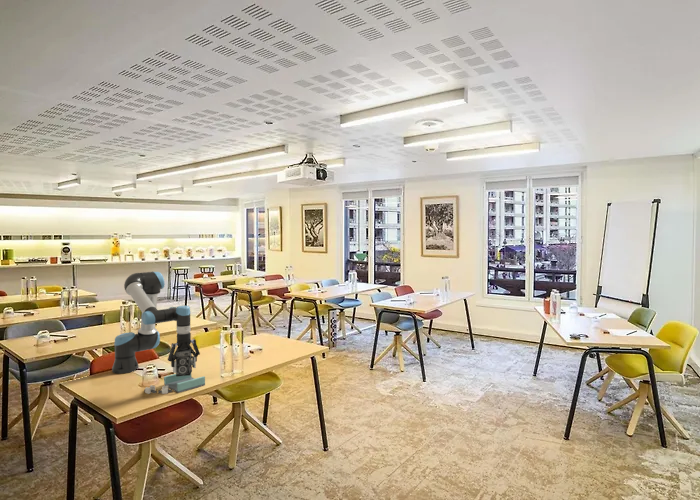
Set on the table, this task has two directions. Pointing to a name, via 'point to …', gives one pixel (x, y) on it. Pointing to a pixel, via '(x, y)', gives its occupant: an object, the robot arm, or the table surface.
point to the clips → (148, 390)
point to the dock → (183, 382)
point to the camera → (184, 362)
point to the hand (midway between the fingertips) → (184, 369)
